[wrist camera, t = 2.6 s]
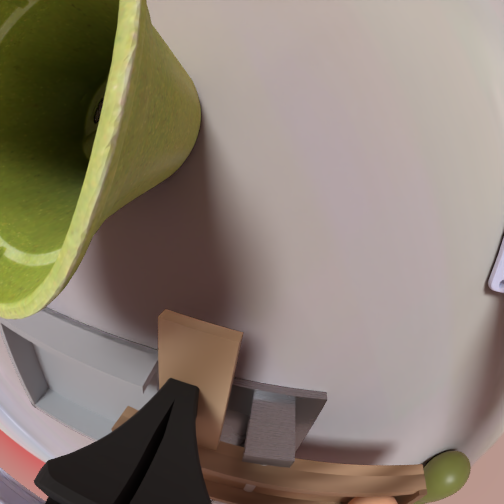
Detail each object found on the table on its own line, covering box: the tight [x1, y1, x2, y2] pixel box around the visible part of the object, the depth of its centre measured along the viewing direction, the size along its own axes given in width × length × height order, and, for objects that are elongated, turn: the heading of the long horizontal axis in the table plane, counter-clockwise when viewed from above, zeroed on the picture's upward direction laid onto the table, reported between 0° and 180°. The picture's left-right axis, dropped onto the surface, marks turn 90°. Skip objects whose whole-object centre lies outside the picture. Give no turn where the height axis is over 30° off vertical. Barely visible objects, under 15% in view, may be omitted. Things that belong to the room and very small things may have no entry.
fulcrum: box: [220, 378, 327, 468], centre depth 14 cm, size 6×9×5 cm, turn 169°
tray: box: [0, 307, 159, 442], centre depth 16 cm, size 12×10×3 cm
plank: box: [111, 309, 427, 504], centre depth 11 cm, size 18×13×2 cm
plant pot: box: [0, 0, 201, 320], centre depth 7 cm, size 9×9×9 cm
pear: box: [413, 451, 470, 504], centre depth 16 cm, size 6×5×10 cm
